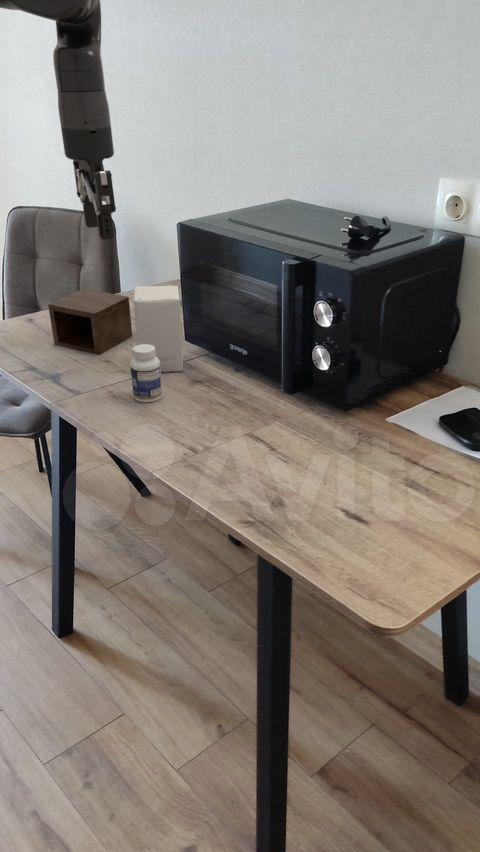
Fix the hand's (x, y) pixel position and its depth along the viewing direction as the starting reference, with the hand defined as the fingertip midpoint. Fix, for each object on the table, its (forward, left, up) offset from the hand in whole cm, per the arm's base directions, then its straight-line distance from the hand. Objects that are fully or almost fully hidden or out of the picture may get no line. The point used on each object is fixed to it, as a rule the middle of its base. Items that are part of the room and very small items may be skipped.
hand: (99, 232), depth 117 cm
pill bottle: (+2, -6, -30) cm, 30 cm away
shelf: (+20, +20, -30) cm, 41 cm away
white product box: (+16, 0, -30) cm, 34 cm away
